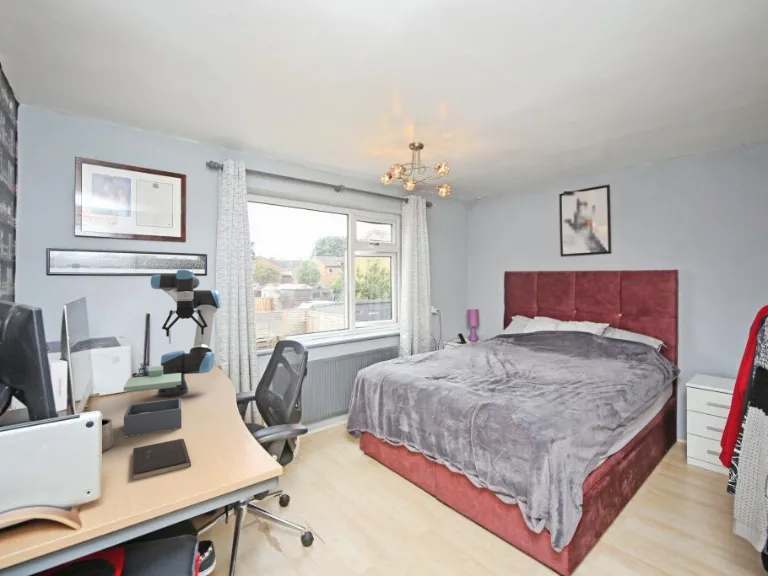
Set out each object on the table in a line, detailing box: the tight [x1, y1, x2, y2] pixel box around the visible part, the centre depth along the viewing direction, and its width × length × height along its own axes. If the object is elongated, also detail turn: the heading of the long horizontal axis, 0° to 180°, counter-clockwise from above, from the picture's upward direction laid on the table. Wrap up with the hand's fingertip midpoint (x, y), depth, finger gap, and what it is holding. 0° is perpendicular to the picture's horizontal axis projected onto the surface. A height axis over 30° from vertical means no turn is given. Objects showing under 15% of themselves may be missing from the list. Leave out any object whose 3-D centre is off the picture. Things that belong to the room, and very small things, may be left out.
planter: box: [101, 418, 113, 453], centre depth 135 cm, size 11×11×10 cm
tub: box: [123, 397, 182, 438], centre depth 160 cm, size 18×20×8 cm
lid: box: [123, 365, 181, 393], centre depth 164 cm, size 27×20×5 cm
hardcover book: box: [131, 438, 192, 480], centre depth 127 cm, size 16×23×2 cm
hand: (185, 342), depth 188 cm, fingers open, 13 cm apart
